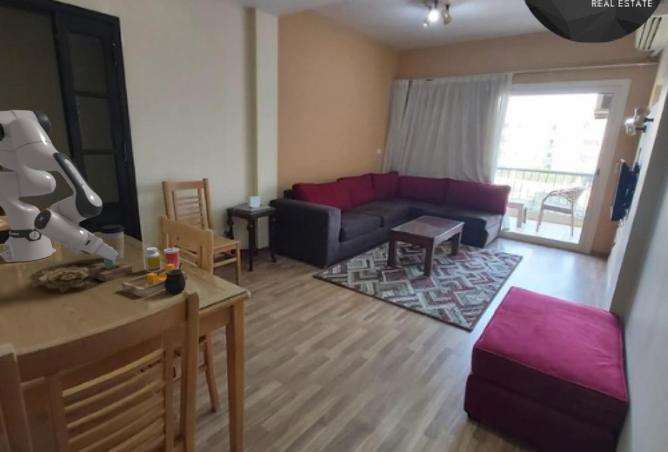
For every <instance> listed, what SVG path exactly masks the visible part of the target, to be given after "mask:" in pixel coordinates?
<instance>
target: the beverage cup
mask: <svg viewBox="0 0 668 452" xmlns="http://www.w3.org/2000/svg"><path fill="white" fill-rule="evenodd" d="M169 242H170V243H169V244H170V247H167V248H164V249H163V253H164V257H165V264H166V265H168V264H174V265H175V269H178V268H179V266H180V253H179V252H180V248H179V247H173V246H172V245H173V244H172V238H169ZM166 265H165V266H166Z"/></svg>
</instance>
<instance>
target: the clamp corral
mask: <svg viewBox="0 0 668 452" xmlns="http://www.w3.org/2000/svg"><path fill="white" fill-rule="evenodd" d="M165 270H166V267H164V268H160V270H157V271H154V272H148V273H146V274H144V275H140V276H138V277H135V278H133V279H129V280H126V281H124V282H122V283H121V286H122V291H123V292H126V293H130V294H131V295H135V296H138V297H139V298H145V297H148V296H150V295H152V294H154V293H157V292H160V291H162V290H164V289H165V286H164V284H165V280H166V279H165V280H162V281H159V282H157V283H154V284H152V285H149V286H148V285H146V284H148V279H147V275H148V274H150V273H155V274H157V277H158V276H159V275H160V274H161V273H163V272H165ZM182 274H183V277H184V279H185V281H186V280H188V273H187V272H186V271H184V270H182ZM142 285H146V286H144V287H141V286H142ZM165 290H166V289H165Z"/></svg>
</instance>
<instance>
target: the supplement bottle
mask: <svg viewBox="0 0 668 452" xmlns="http://www.w3.org/2000/svg"><path fill="white" fill-rule="evenodd" d="M144 257H145V268H146V272H148V273H152V272H154V271H157V270H160V269H161V260H160V253H159V252H158V248H157V247H147V248H146V253H145V254H144Z"/></svg>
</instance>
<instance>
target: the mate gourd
mask: <svg viewBox="0 0 668 452" xmlns="http://www.w3.org/2000/svg"><path fill="white" fill-rule="evenodd" d="M182 265H183V263H181V262H179V268H178V269H172V270H169V271H167V272H166V276H167V277H166V280H165V284H164V286H165V291H166V292H167V293H169V294H174V295H175V294H179V293H181V292H183V291H184V290H185V288H186V284H187V283H186V280H185V279H184V277H183V274H182V271H183V270H182V269H181V267H182Z"/></svg>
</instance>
